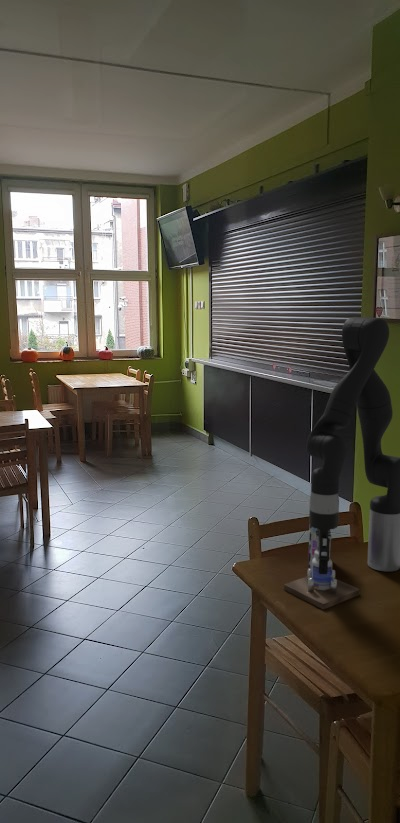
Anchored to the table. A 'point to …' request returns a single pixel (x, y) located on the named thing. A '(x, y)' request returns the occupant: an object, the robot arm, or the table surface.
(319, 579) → the pill bottle
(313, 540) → the candy box
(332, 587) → the steel pegs
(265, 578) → the table surface
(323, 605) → the peg board
